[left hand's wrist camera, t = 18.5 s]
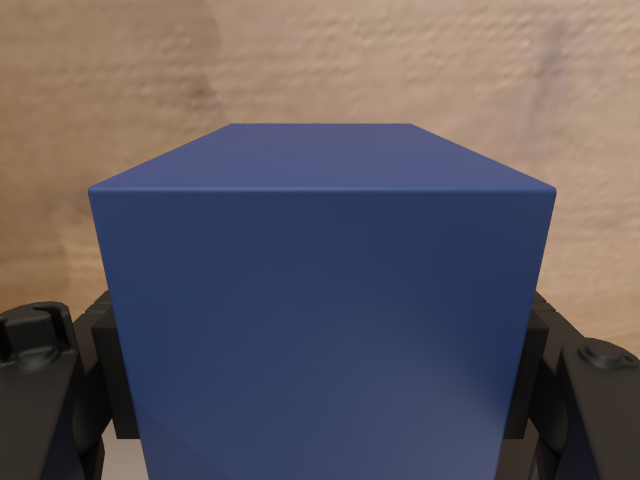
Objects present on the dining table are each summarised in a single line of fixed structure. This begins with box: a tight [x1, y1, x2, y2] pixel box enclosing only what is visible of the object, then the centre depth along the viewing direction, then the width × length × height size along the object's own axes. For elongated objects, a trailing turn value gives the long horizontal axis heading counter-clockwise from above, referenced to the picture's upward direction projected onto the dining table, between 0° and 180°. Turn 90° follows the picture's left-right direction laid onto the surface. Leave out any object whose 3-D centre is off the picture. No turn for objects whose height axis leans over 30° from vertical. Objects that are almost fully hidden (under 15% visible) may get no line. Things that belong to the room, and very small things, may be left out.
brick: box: [88, 124, 556, 480], centre depth 12 cm, size 7×8×10 cm
